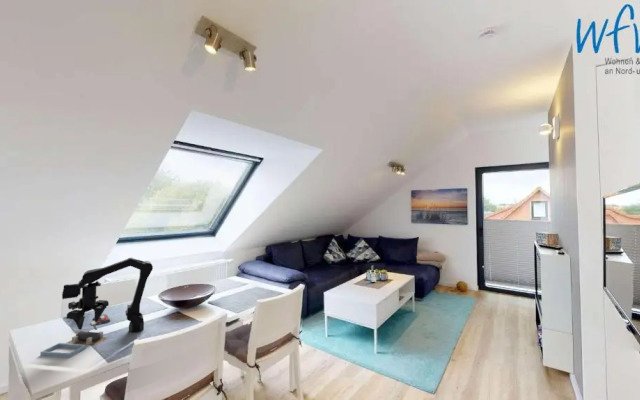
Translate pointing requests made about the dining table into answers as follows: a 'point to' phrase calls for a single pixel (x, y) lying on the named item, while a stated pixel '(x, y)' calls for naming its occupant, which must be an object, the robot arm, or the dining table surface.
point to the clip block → (87, 340)
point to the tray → (64, 355)
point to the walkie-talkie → (100, 320)
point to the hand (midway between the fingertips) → (88, 325)
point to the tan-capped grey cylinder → (88, 335)
